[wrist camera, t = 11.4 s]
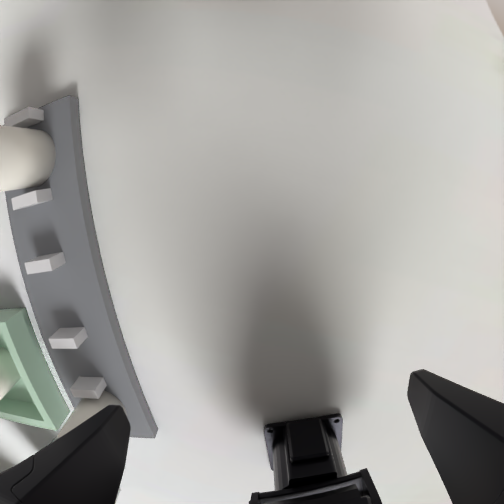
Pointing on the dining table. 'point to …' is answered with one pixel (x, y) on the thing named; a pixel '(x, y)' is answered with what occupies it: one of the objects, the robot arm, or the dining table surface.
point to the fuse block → (66, 263)
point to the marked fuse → (7, 372)
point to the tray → (29, 376)
